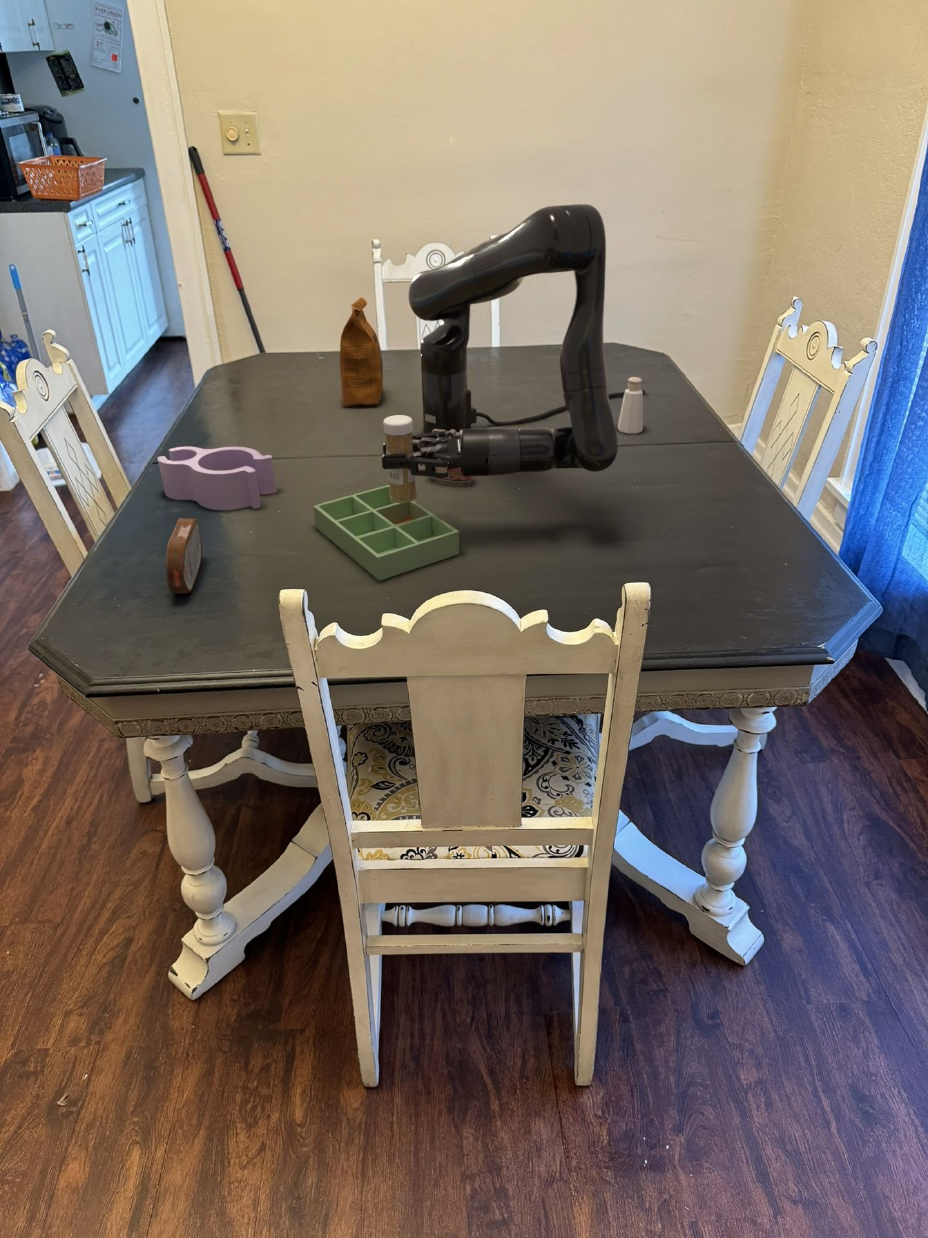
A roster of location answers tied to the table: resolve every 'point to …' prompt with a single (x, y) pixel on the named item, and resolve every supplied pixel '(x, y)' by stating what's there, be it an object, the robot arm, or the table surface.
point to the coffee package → (360, 360)
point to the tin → (183, 556)
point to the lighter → (455, 473)
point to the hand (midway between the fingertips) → (383, 455)
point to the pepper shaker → (632, 408)
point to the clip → (217, 476)
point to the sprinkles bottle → (400, 443)
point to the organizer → (386, 532)
